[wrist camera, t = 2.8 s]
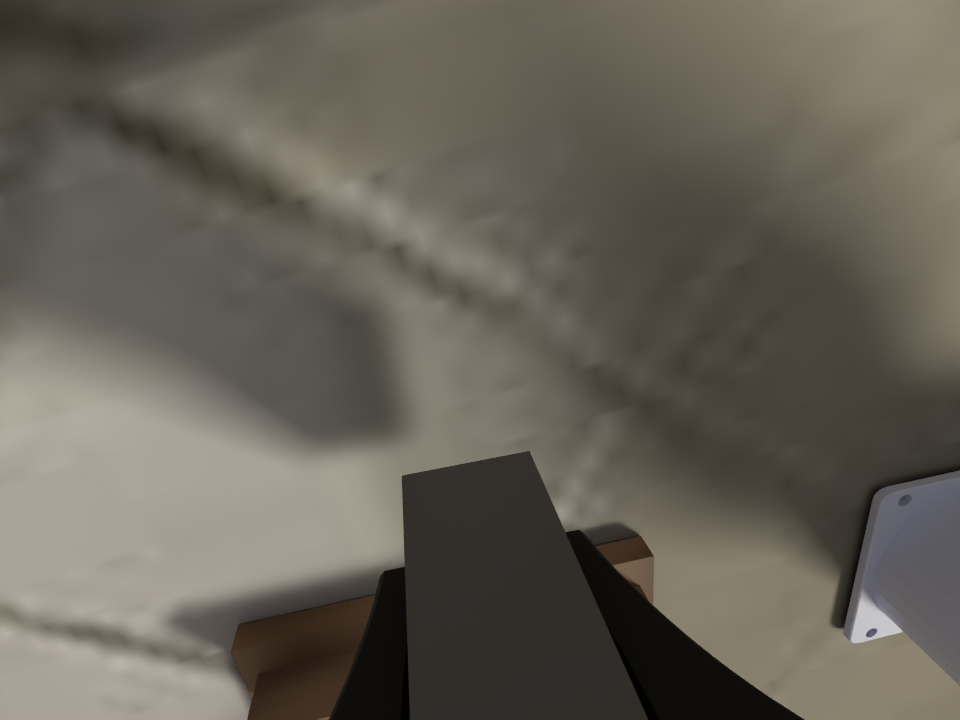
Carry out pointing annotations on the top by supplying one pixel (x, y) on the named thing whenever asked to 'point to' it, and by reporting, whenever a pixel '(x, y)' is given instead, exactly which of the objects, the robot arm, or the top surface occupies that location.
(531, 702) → the charcoal plug
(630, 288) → the top surface
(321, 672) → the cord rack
